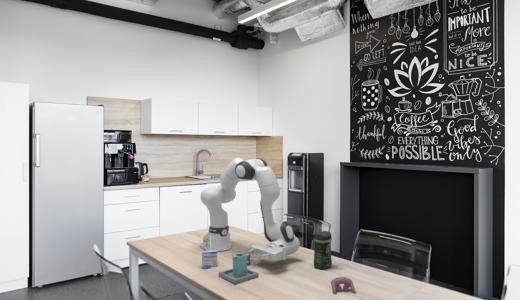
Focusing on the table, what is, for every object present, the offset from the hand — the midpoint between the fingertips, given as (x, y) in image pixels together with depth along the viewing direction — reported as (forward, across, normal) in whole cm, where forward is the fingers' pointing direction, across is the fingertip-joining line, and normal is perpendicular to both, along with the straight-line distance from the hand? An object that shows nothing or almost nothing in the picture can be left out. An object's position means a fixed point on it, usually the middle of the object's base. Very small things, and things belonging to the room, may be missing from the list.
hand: (254, 254), depth 183 cm
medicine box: (+14, -22, +9) cm, 27 cm away
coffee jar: (-32, +18, +9) cm, 37 cm away
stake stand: (-6, -13, +9) cm, 17 cm away
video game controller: (-14, +44, +9) cm, 47 cm away
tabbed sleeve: (+9, 0, +8) cm, 12 cm away
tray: (+10, 0, +9) cm, 14 cm away
